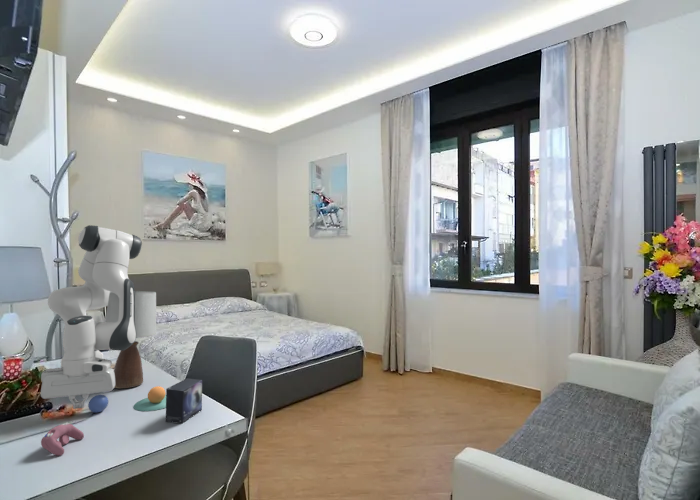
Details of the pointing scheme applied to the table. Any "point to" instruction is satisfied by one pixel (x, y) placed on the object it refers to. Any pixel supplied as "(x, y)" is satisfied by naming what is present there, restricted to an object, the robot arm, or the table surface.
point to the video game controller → (60, 438)
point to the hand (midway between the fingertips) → (79, 407)
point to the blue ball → (98, 403)
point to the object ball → (156, 394)
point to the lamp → (145, 323)
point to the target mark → (150, 405)
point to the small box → (183, 400)
